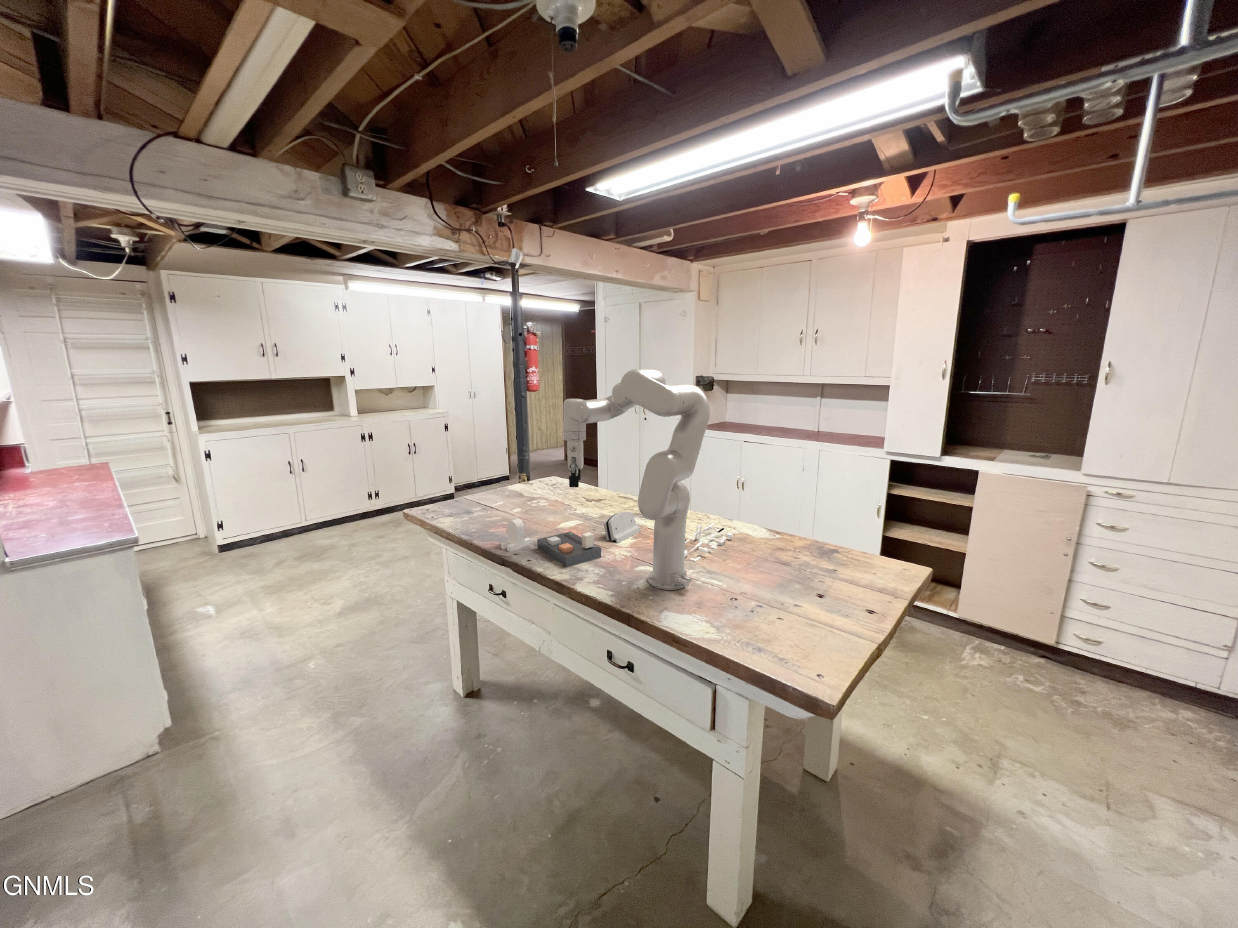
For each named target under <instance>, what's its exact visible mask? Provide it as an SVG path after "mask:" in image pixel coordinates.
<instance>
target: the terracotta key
mask: <svg viewBox="0 0 1238 928" xmlns="http://www.w3.org/2000/svg"><path fill="white" fill-rule="evenodd" d="M559 551H561V552H563V553H565V552H569V551H573V546H572V545H570V544H568V543H566V544H562V545H559Z"/></svg>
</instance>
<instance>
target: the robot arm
mask: <svg viewBox="0 0 1238 928" xmlns="http://www.w3.org/2000/svg"><path fill="white" fill-rule="evenodd" d="M637 406H640V407H641V408H643V409H645V410H647V411H648V412H650V413H652V414H654V415H656V416H659V417H662V418H667V417H668V418H669V417H675V416H680V418H679V421H678V422H677V424H676V426H675V427H674V429H673V432H672V437H671V441H670V443H669V445H668V448H667V449H666V450H665V449H664V450H662V451H659V452H656V453H654V454H653V455H652V456H651V457H650V458H649V459H648V461H647V463H646V466H645V468H644V473H643V477H642V479H641V484H640V488H639V492H638V496H637V507H638V511H639V512H640V514H641V515H642V517H643V518H645V519H646V520H649V521H654V523H653V524H654V525H653V542H652V543H653V545H652V546H653V547H652V548H653V549H652V551H653V552H652V571H651V572H649V573H648V575H647V582H648V584H650V585H651V586H652V587H654V588H655V589H660V590H665V591H673V590H674V591H675V590H680V589H683V588H686V589H687V588H688V587H689V586H690V584H691V582H692V581H693V580H692V578H691V577H689V576H688V575H687V570H686V569H685V558H684V554H685V550H686V544H685V539H686V531H687V530H686V529H687V519H688V513H689V507H690V502H691V501H690V500H691V495H690V491H689V489H688V487H687V485H685V483H684V482H682V481H685V480H686V479H689V478H690V477H691V476H692V475H693V473H694V472H695V469H696V465H697V461H698V458H699V455H700V454H699V453H700V451H701V447H702V443H703V440H704V437H705V433H706V431H707V429H708V428H707V427H708V425H709V420H710V415H711V408H710V407H711V406H710V403H709V400H708V397H707V396H706V394H705V392H703V391H702V389H700V388H699V387H697V386H695V385H692V384H686V383H682V384H677V383H676V384H666V378H665V376H664V374H663V373H662V372H661V371H659V370H657V369H655V368H635V369H634V368H633V369H631V370H630V369H629V370H628V371H626V372H625V374H623V376H622V377H621V380H620V382H618V383H616V384H615V385H614V386H613V387H612V391H611V395H609V396H607V397H603V398H596V399H595V398H594V399H586V400H585V399H581V398H567V399H565V400H564V401H563V440H564V441H567V443H566V444H567V445H566V450H567V453H566V454H567V468H568V470H569V475H568V487H569V488H579V485H580V484H579V482H580V481H581V478H582V477H581V475H582V474H581V471H582V469H583V467H584V462H585V461H584V441H586V439H587V429H586V428H587V424H593V423H601V422H605V421H610V420H612V419H615V418H617V417H620V416H622V415H624V414H625V413H627V412H628V411H629V410H630V409H632V408H634V407H637Z"/></svg>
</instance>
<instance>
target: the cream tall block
mask: <svg viewBox="0 0 1238 928" xmlns="http://www.w3.org/2000/svg"><path fill="white" fill-rule="evenodd" d="M581 537H582V547H584V548H589V547H593V546H594V544H595V543H594V542H595V539H594V537H595V535H594V533H592V532H591V531H589V532H585V533H582V534H581Z"/></svg>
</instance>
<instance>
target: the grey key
mask: <svg viewBox="0 0 1238 928" xmlns="http://www.w3.org/2000/svg"><path fill="white" fill-rule="evenodd" d="M547 543H548V544H550V545H551V546H552V545H556V544H560V543H561V539H560V538H558V537H556V536H555V537H551V538H547Z"/></svg>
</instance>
